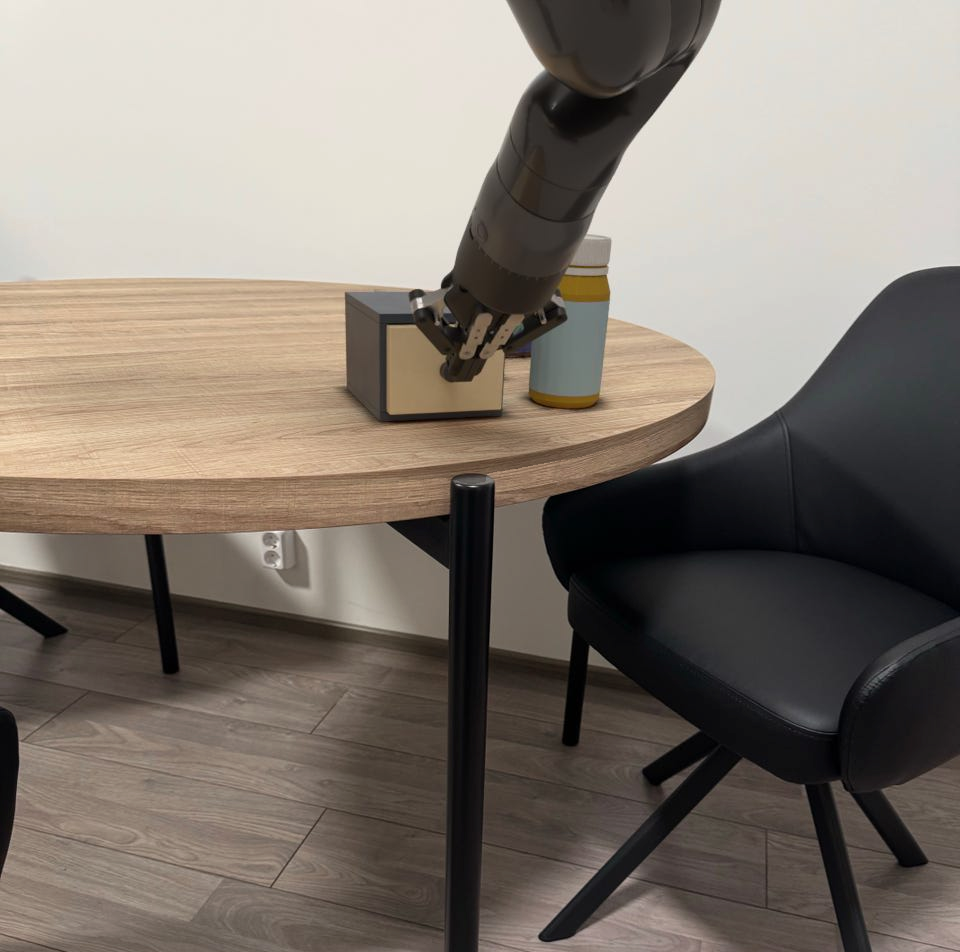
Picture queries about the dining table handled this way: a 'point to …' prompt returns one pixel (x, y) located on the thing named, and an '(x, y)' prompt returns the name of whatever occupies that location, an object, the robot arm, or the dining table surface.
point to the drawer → (435, 377)
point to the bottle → (575, 333)
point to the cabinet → (382, 352)
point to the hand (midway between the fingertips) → (459, 372)
